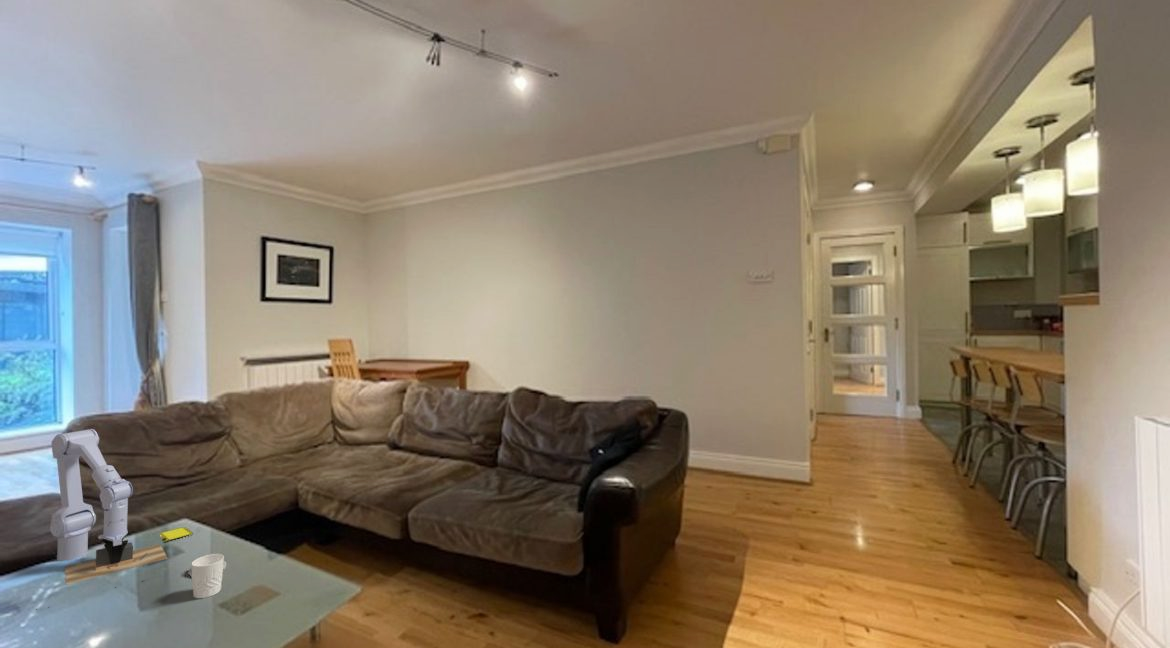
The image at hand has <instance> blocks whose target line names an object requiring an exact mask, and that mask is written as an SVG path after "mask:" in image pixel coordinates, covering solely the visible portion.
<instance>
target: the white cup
mask: <svg viewBox="0 0 1170 648" xmlns="http://www.w3.org/2000/svg"><path fill="white" fill-rule="evenodd" d="M212 554H213V555H208V554H206V555H207V556H205V555H202V556H203V557H201V556H199V557H200V558H199V557H197V558H198V559H197V558H196V559H195V560H193V561H192V562H191V568H192V577H191V582H192V596H193V598H194V599H206V598H210V597H213V596H214V595H216V594H219V592H220V591H222V580H223V574H224V573H223V572H224V570H223V563H224V561H225V556H224V555H223V554H221V553H216V554H215V553H212ZM220 554H221V555H220Z"/></svg>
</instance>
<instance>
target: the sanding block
mask: <svg viewBox="0 0 1170 648" xmlns="http://www.w3.org/2000/svg"><path fill="white" fill-rule="evenodd" d="M133 550H134V545H133V543H132V542H131V541H130V542H129V541H128V543H127V545H126V546H125V548H124V550H123V553H122V557H121V560H120V562H119V563H115V564H111V562H110V558H109V553H108V551H107V549H106V548H105V547H103V548H100V549H96V550H95V559H96V563H95V568H96V570H100V569H104V568H108V567H112V566H116V565H120V564H124V563H128V562H132V561H133V560H134V559H133Z"/></svg>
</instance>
